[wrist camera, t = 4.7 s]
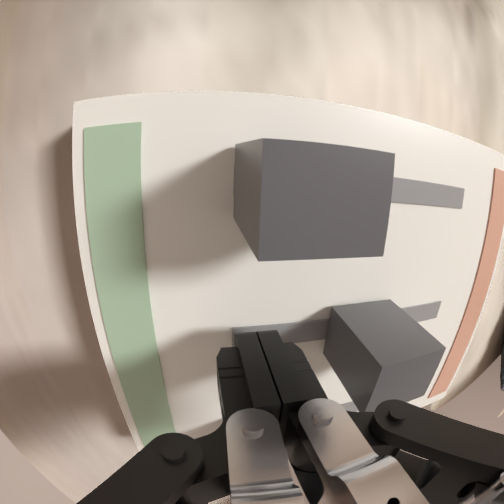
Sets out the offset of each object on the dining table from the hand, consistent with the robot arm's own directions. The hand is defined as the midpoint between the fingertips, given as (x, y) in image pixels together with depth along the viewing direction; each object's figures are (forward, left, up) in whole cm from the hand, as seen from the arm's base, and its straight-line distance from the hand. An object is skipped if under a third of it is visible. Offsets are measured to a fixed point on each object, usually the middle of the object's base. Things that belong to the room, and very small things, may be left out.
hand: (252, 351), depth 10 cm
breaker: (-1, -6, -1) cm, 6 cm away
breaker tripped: (-5, 0, -1) cm, 5 cm away
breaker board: (-5, 0, -4) cm, 6 cm away
